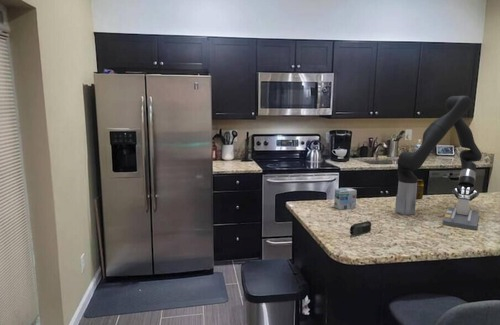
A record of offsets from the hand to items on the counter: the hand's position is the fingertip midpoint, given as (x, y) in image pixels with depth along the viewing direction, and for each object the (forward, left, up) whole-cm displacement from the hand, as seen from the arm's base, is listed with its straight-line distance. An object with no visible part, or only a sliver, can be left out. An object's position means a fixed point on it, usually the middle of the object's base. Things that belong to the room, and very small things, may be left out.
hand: (463, 205), depth 181 cm
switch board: (-5, -4, -6) cm, 9 cm away
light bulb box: (-47, +36, -6) cm, 60 cm away
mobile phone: (-67, 0, -6) cm, 67 cm away
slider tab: (-2, -1, -4) cm, 4 cm away
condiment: (+8, +36, -6) cm, 38 cm away
